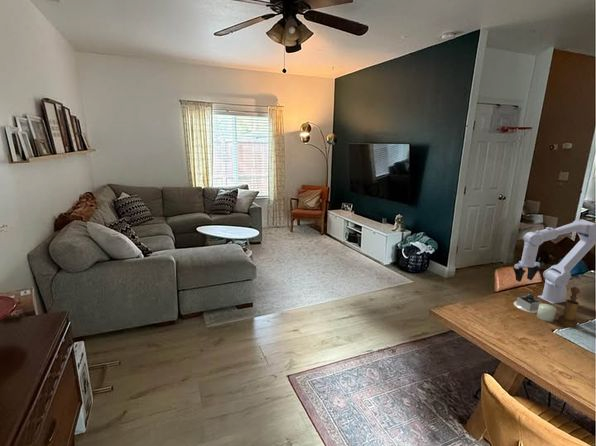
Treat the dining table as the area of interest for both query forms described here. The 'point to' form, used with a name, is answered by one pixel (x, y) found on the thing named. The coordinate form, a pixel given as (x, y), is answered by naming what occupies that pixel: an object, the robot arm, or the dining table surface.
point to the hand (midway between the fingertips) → (523, 280)
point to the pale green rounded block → (546, 312)
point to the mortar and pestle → (570, 310)
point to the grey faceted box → (526, 305)
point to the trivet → (524, 309)
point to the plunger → (530, 297)
